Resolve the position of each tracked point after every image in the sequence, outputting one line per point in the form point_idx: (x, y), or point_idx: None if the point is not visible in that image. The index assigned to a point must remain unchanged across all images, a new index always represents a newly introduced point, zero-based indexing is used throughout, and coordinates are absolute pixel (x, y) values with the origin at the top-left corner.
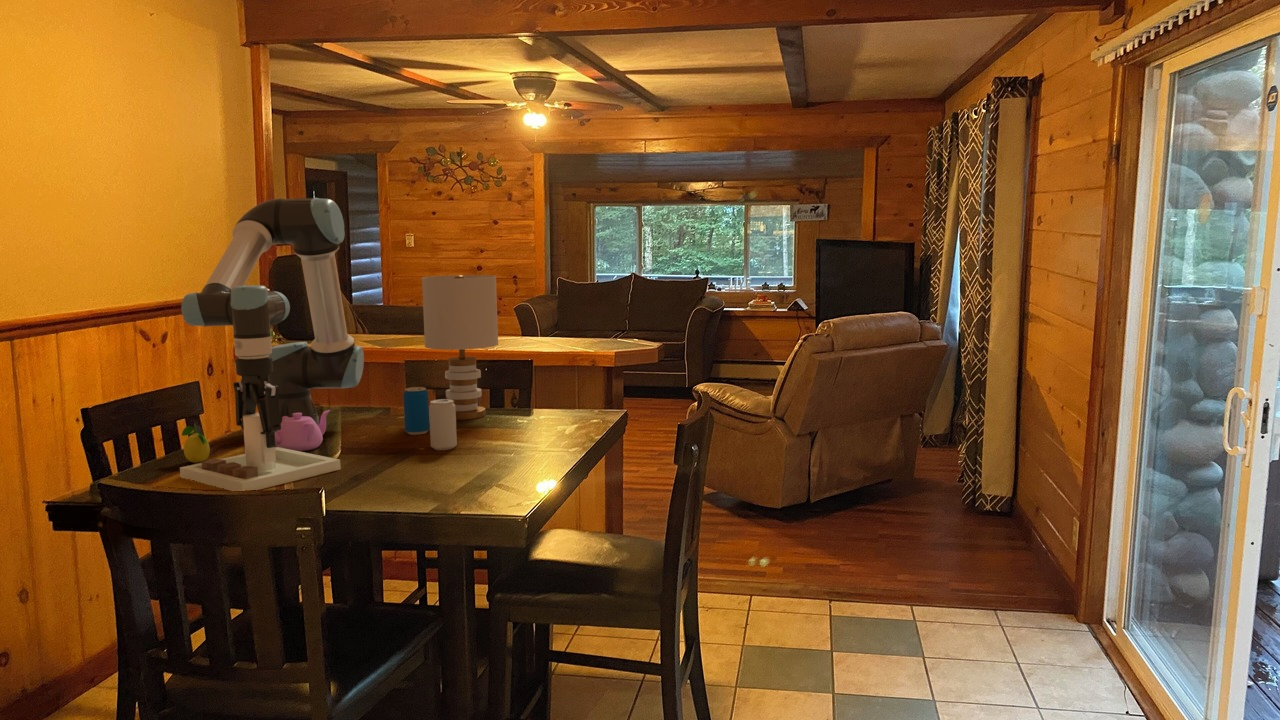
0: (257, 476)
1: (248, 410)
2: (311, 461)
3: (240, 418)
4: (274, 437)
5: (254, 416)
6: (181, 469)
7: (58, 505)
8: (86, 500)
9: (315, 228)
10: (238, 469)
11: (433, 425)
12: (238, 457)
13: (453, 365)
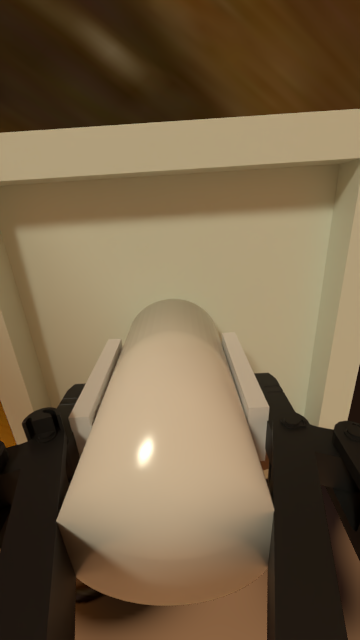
0: None
1: (69, 608)
2: (241, 168)
3: (2, 529)
4: (288, 403)
5: (196, 570)
6: None
7: (77, 602)
8: (77, 579)
9: None
10: (261, 464)
11: None
12: (13, 347)
13: None
